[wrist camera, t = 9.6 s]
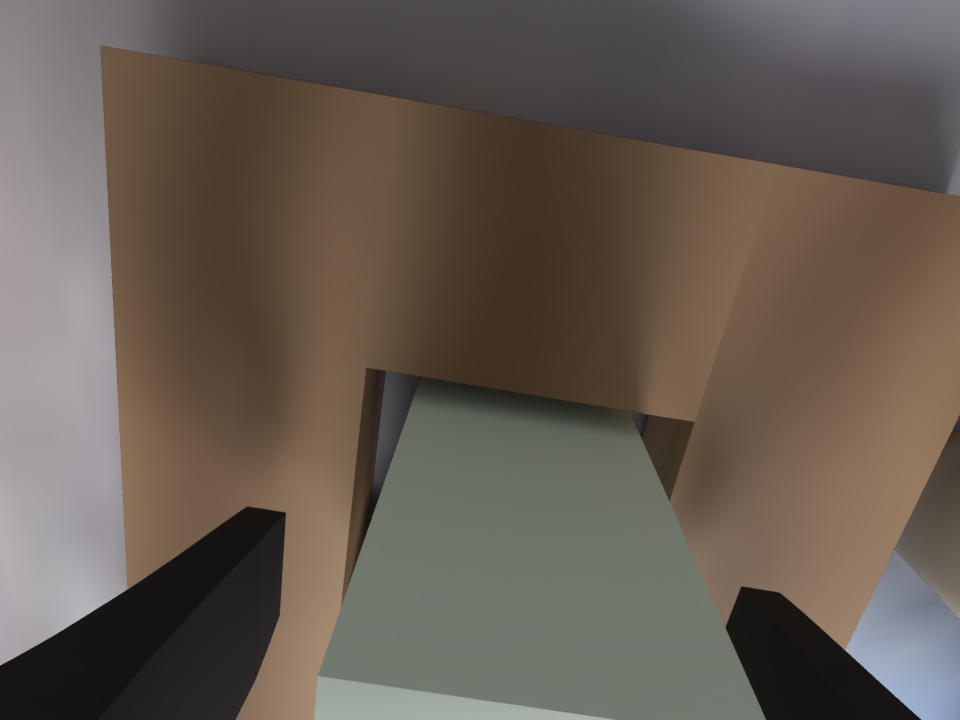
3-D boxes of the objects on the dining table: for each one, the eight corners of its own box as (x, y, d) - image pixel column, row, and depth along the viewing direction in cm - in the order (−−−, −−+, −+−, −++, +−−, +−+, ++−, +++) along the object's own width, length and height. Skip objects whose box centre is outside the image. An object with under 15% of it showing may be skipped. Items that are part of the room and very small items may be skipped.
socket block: (947, 196, 11) (1058, 214, 9) (718, 738, 16) (754, 836, 14) (183, 63, 11) (100, 45, 9) (187, 656, 16) (135, 742, 14)
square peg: (617, 384, 13) (776, 743, 5) (578, 542, 14) (659, 1001, 7) (427, 355, 13) (317, 676, 5) (406, 516, 14) (296, 951, 7)
